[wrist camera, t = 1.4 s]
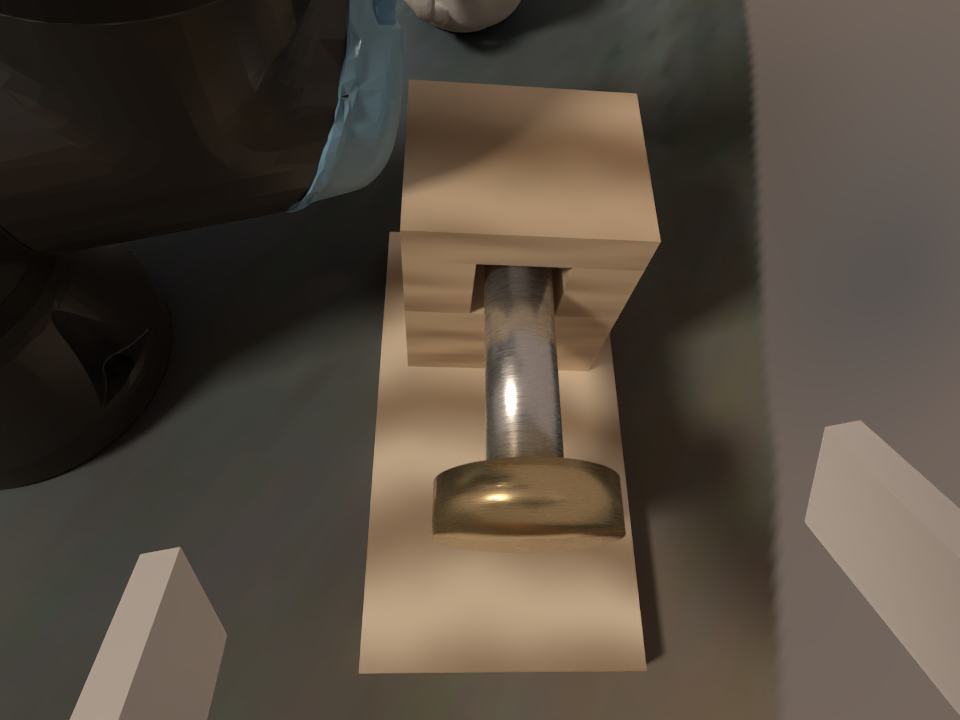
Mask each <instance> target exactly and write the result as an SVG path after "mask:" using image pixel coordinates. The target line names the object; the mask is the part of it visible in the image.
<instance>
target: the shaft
mask: <svg viewBox="0 0 960 720" xmlns="http://www.w3.org/2000/svg"><path fill="white" fill-rule="evenodd" d="M484 333H485V425H486V460H483V461H477V462H472V463H468V464H463V465H460V466H456V467H453V468H451V469H448V470H446V471H444V472H442V473H440V474H439V475H437V476H436V477H435V479H434V481H433V502H432V540H433V541H434V542H436V543H438V544H441V545H444V546H448V547H452V548H457V549H464V550H472V551H483V552H501V553H536V552H556V551H568V550H577V549H585V548H591V547H597V546H602V545H606V544H610V543H613V542H616V541H618V540H620V539H622V538H623V537H625V535H626V530H625V521H624V511H623V502H622V492H621V483H620V476H619V474H618V473H617V472H616V471H614V470H613V469H611V468H609V467H607V466H604V465H601V464H598V463H594V462H590V461H584V460H578V459H570V458H564V450H563V435H562V421H561V406H560V391H559V376H558V361H557V346H556V331H555V316H554V302H553V287H552V272H551V267H535V266H510V265H485V264H484Z"/></svg>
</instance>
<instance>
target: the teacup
mask: <svg viewBox="0 0 960 720" xmlns="http://www.w3.org/2000/svg"><path fill="white" fill-rule="evenodd" d="M404 1H405V2H406V3H407V4H408V6H409V7H410V8H411V9H413V10H414V12H415V14H416V15H417V16H418V17H419V18H420V19H422V20H424V21H426V22H429V23H431V24H432V25H434V26H436V27H439V28H441V29H444V30H447V31H452V32H474V31H479V30H482V29H485V28H487V27H490V26H492V25H495V24H497V23H499V22H501V21H502V20H504V19H505V18H507V17H508V16H509V15H510V14H511V13H512V12H513V11H514V10H515V9H516V7H517V6H518V4H519V3H520V1H521V0H404Z"/></svg>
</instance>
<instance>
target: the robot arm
mask: <svg viewBox="0 0 960 720" xmlns="http://www.w3.org/2000/svg"><path fill="white" fill-rule="evenodd" d="M395 7H396V0H0V490H3V489H10V488H16V487H20V486H25V485H29V484H33V483H36V482H39V481H42V480H45V479H48V478H51V477H54V476H56V475H58V474H61V473H63V472H65V471H67V470H69V469H71V468H74V467H76V466H77V465H79V464H81V463H83V462H84V461H86V460H88V459H89V458H91V457H93V456H94V455H96V454H97V453H99V452H100V451H101V450H103V449H104V448H106V447H107V446H108V445H109V444H111V443H112V442H113V441H114V440H115V439H117V438H118V437H119V436H120V435H121V434H122V433H123V432H124V431H125V430H126V429H127V428H128V427H129V426H130V425H131V424H132V423H133V422H134V421H135V420H136V419H137V417H138V416H139V415H140V414H141V413H142V411H143V410H144V409H145V407H146V406H147V404H148V403H149V401H150V400H151V398H152V397H153V395H154V393H155V392H156V390H157V388H158V386H159V384H160V382H161V379H162V377H163V375H164V372H165V369H166V366H167V363H168V359H169V355H170V349H171V340H172V328H171V319H170V314H169V310H168V306H167V304H166V301H165V299H164V297H163V295H162V293H161V291H160V289H159V288H158V286H157V284H156V283H155V282H154V280H153V279H152V277H151V276H150V275H149V273H148V272H147V271H146V269H145V268H144V266H143V265H142V264H141V262H140V261H139V260H138V259H137V258H136V257H135V256H134V255H133V254H132V253H131V252H130V251H129V250H128V249H127V248H125V247H124V246H123V245H122V244H121V242H126V241H132V240H137V239H142V238H148V237H153V236H158V235H163V234H169V233H174V232H179V231H185V230H190V229H195V228H201V227H206V226H211V225H217V224H222V223H227V222H232V221H238V220H243V219H248V218H254V217H259V216H264V215H270V214H275V213H280V212H286V213H291V212H296V211H299V210H302V209H303V208H305V207H307V206H308V205H309V204H311V203H312V202H315V201H319V200H323V199H327V198H330V197H334V196H338V195H342V194H345V193H349V192H353V191H356V190H359V189H361V188H363V187H365V186H367V185H368V184H369V183H371V182H372V181H373V180H374V179H375V178H377V177H378V175H379V174H380V173H381V172H382V170H383V169H384V167H385V166H386V164H387V162H388V160H389V158H390V155H391V153H392V150H393V147H394V144H395V140H396V136H397V131H398V126H399V120H400V112H401V102H402V88H403V36H402V28H401V25H400V23H399V20H398V18H397V14H396V11H395ZM804 522H805V524H806V525H807V526H808V527H809V528H810V530H811V531H812V532H813V533H814V535H815V536H816V537H817V538H818V540H819V541H820V542H821V543H822V545H823V546H824V547H825V548H826V550H827V551H828V552H829V553H830V555H831V556H832V557H833V558H834V560H835V561H836V562H837V563H838V565H839V566H840V567H841V568H842V570H843V571H844V572H845V573H846V575H847V576H848V577H849V578H850V579H851V581H852V582H853V583H854V585H855V586H856V587H857V588H858V589H859V591H860V592H861V593H862V594H863V596H864V597H865V598H866V600H867V601H868V602H869V603H870V604H871V606H872V607H873V608H874V610H875V611H876V612H877V613H878V614H879V616H880V617H881V618H882V620H883V621H884V622H885V623H886V624H887V626H888V627H889V628H890V629H891V631H892V632H893V633H894V634H895V636H896V637H897V638H898V639H899V641H900V642H901V643H902V644H903V646H904V647H905V648H906V649H907V651H908V652H909V653H910V654H911V656H912V657H913V658H914V659H915V661H916V662H917V663H918V664H919V665H920V667H921V668H922V669H923V671H924V672H925V673H926V674H927V676H928V677H929V678H930V679H931V681H932V682H933V683H934V684H935V686H936V687H937V688H938V689H939V691H940V692H941V693H942V694H943V696H944V697H945V698H946V699H947V701H948V702H949V703H950V704H951V705H952V706H953V708H954V709H955V710H956V712H957V713H958V714H959V715H960V509H959V508H958V507H957V506H956V505H955V504H954V503H953V502H952V501H950V500H949V499H948V498H947V497H946V496H945V495H944V494H942V493H941V492H940V491H939V490H938V489H937V488H936V487H935V486H934V485H932V484H931V483H930V482H929V481H928V480H927V479H926V478H925V477H923V476H922V475H921V474H920V473H919V472H918V471H917V470H915V469H914V468H913V467H912V466H911V465H910V464H909V463H908V462H907V461H905V460H904V459H903V458H902V457H901V456H900V455H899V454H898V453H896V452H895V451H894V450H893V449H892V448H891V447H890V446H889V445H887V444H886V443H885V442H884V441H883V440H882V439H881V438H879V436H877V435H876V434H875V433H874V432H873V431H872V430H871V429H870V428H868V427H867V426H866V425H865V424H864V423H863V422H862V421H855V422H849V423H844V424H838V425H833V426H828V427H825V430H824V435H823V439H822V444H821V449H820V453H819V457H818V462H817V466H816V472H815V476H814V481H813V485H812V490H811V494H810V498H809V503H808V508H807V512H806V517H805V521H804ZM226 637H227V634H226V632H225V630H224V628H223V626H222V624H221V622H220V620H219V619H218V617H217V615H216V613H215V611H214V609H213V607H212V605H211V603H210V602H209V600H208V598H207V596H206V594H205V592H204V590H203V588H202V587H201V585H200V583H199V581H198V579H197V577H196V575H195V573H194V572H193V570H192V568H191V566H190V564H189V562H188V560H187V558H186V556H185V555H184V553H183V551H182V549H181V547H177V548H172V549H167V550H161V551H156V552H151V553H145V554H140V556H139V559H138V561H137V563H136V566H135V568H134V570H133V573H132V575H131V577H130V580H129V582H128V584H127V587H126V589H125V591H124V594H123V596H122V598H121V601H120V603H119V606H118V608H117V610H116V613H115V615H114V617H113V620H112V622H111V624H110V627H109V629H108V631H107V634H106V636H105V638H104V641H103V643H102V645H101V648H100V650H99V653H98V655H97V657H96V660H95V662H94V664H93V667H92V669H91V671H90V674H89V676H88V678H87V681H86V683H85V685H84V688H83V690H82V692H81V695H80V697H79V700H78V702H77V704H76V707H75V709H74V711H73V714H72V716H71V718H70V720H207V717H208V713H209V709H210V705H211V700H212V696H213V692H214V688H215V684H216V679H217V675H218V671H219V667H220V663H221V658H222V654H223V650H224V646H225V641H226Z"/></svg>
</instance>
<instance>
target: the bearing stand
mask: <svg viewBox="0 0 960 720" xmlns="http://www.w3.org/2000/svg"><path fill="white" fill-rule="evenodd" d="M660 242H661V240H660V234H659V228H658V221H657V215H656V209H655V203H654V197H653V191H652V184H651V178H650V172H649V166H648V160H647V154H646V147H645V141H644V135H643V129H642V123H641V117H640V111H639V104H638V98H637V94H634V93H618V92H602V91H586V90H570V89H554V88H538V87H521V86H505V85H489V84H473V83H457V82H441V81H425V80H409V92H408V109H407V125H406V141H405V158H404V174H403V190H402V207H401V223H400V232H390V234H389V249H388V263H387V277H386V292H385V306H384V320H383V334H382V349H381V363H380V377H379V392H378V406H377V420H376V435H375V449H374V463H373V478H372V492H371V506H370V520H369V535H368V549H367V563H366V578H365V592H364V606H363V621H362V635H361V649H360V663H359V673H463V672H577V671H647V668H646V659H645V650H644V641H643V632H642V622H641V613H640V604H639V595H638V586H637V577H636V568H635V559H634V550H633V541H632V532H631V523H630V513H629V504H628V495H627V486H626V477H625V468H624V459H623V450H622V441H621V432H620V423H619V413H618V404H617V395H616V386H615V377H614V368H613V359H612V350H611V341H610V331H611V329H612V327H613V326H614V324H615V322H616V320H617V318H618V317H619V315H620V313H621V311H622V310H623V308H624V306H625V304H626V303H627V301H628V299H629V297H630V295H631V294H632V292H633V290H634V288H635V287H636V285H637V283H638V281H639V280H640V278H641V276H642V274H643V272H644V271H645V269H646V267H647V265H648V264H649V262H650V260H651V258H652V257H653V255H654V253H655V251H656V249H657V248H658V246H659V244H660ZM484 264H485V265H510V266H535V267H551V272H552V287H553V302H554V316H555V331H556V346H557V361H558V376H559V391H560V406H561V421H562V435H563V450H564V458H570V459H578V460H584V461H590V462H594V463H598V464H601V465H604V466H607V467H609V468H611V469H613V470H614V471H616V472H617V473H618V474H619V476H620V483H621V492H622V502H623V511H624V521H625V530H626V535H625V537H623V538H622V539H620V540H618V541H616V542H613V543H610V544H606V545H602V546H597V547H591V548H585V549H577V550H568V551H556V552H536V553H501V552H483V551H472V550H464V549H457V548H452V547H448V546H444V545H441V544H438V543H436V542H434V541H433V540H432V502H433V481H434V479H435V477H436V476H437V475H439V474H440V473H442V472H444V471H446V470H448V469H451V468H453V467H456V466H460V465H463V464H468V463H472V462H477V461H483V460H486V425H485V333H484Z"/></svg>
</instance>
